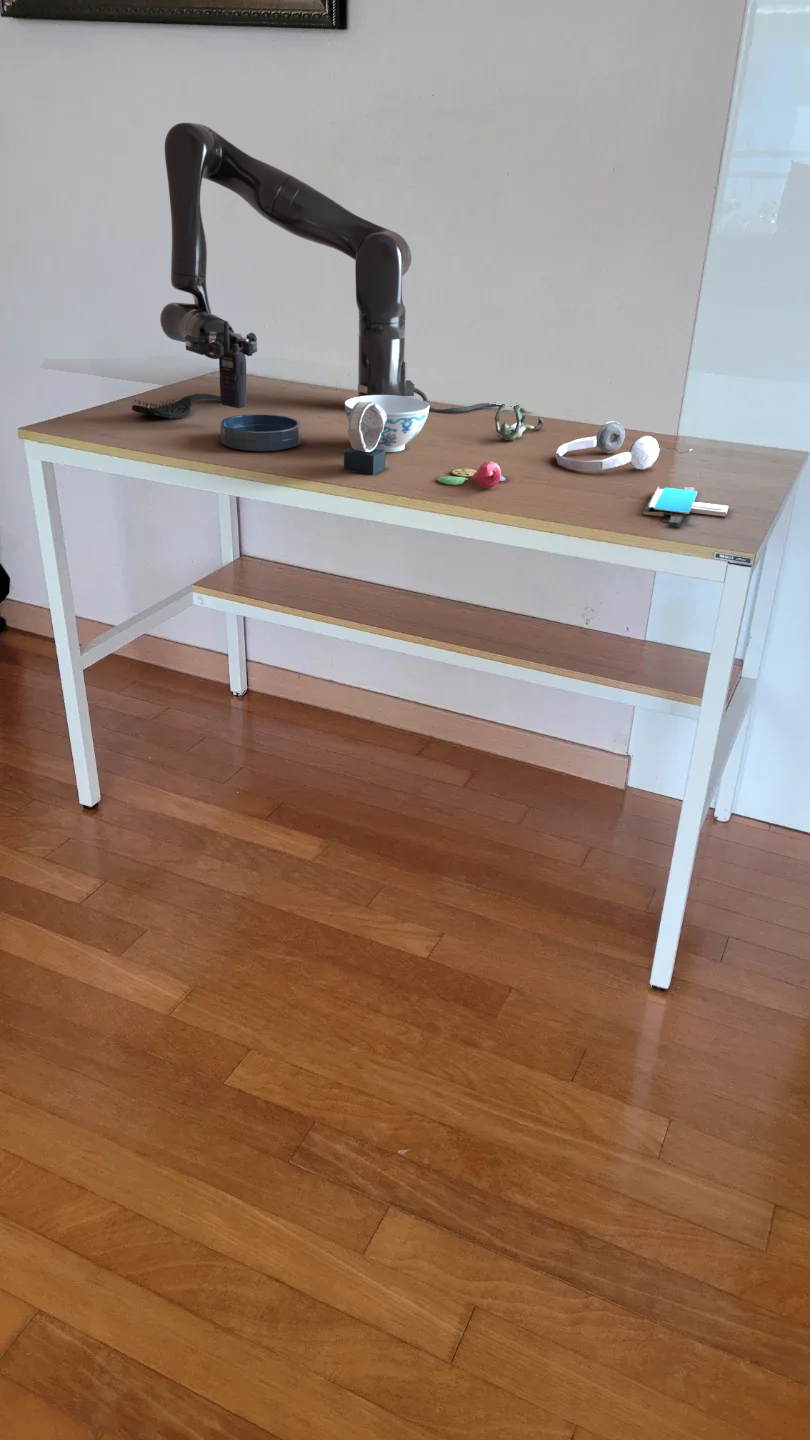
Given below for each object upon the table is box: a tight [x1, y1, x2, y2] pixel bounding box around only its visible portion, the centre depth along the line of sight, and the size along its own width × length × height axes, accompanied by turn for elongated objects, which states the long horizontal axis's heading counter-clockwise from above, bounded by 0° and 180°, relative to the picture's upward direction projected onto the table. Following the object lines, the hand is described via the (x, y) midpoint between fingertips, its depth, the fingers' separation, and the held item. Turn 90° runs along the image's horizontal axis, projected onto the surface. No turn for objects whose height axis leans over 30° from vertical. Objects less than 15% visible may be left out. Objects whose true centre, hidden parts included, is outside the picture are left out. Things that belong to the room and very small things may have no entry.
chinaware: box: [344, 395, 431, 453], centre depth 190 cm, size 15×15×8 cm
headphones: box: [555, 421, 693, 471], centre depth 186 cm, size 17×6×20 cm
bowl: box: [219, 413, 302, 452], centre depth 192 cm, size 14×14×4 cm
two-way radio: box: [218, 320, 247, 409], centre depth 197 cm, size 6×4×15 cm
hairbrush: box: [131, 392, 221, 419], centre depth 212 cm, size 8×4×25 cm
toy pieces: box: [436, 460, 506, 489], centre depth 174 cm, size 12×11×4 cm
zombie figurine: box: [494, 404, 544, 442], centre depth 201 cm, size 5×7×15 cm
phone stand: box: [642, 485, 729, 528], centre depth 164 cm, size 20×12×2 cm, turn 160°
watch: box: [343, 401, 387, 476], centre depth 177 cm, size 6×8×11 cm
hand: (236, 350), depth 195 cm, fingers closed on two-way radio, 5 cm apart
